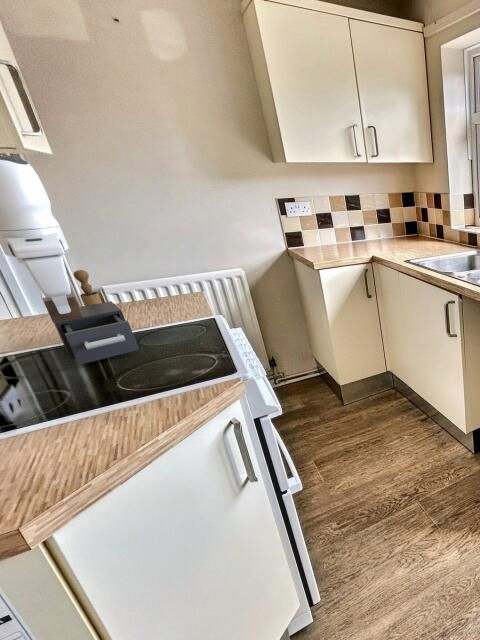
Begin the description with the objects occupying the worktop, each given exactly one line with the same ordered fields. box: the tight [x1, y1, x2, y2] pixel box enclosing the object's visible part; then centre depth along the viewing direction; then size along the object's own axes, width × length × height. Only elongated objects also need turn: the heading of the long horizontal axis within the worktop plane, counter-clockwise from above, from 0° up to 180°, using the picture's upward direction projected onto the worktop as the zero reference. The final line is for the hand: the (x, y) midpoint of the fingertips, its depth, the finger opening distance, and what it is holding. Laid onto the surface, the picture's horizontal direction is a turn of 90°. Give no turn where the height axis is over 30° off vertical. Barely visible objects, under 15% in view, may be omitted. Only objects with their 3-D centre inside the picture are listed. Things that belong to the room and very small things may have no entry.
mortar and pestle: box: [73, 269, 103, 306], centre depth 123 cm, size 7×6×18 cm
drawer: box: [63, 314, 140, 366], centre depth 105 cm, size 17×11×8 cm
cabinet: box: [53, 301, 127, 359], centre depth 113 cm, size 14×13×10 cm
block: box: [41, 292, 83, 324], centre depth 88 cm, size 4×4×4 cm
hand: (63, 310), depth 88 cm, fingers closed on block, 4 cm apart
